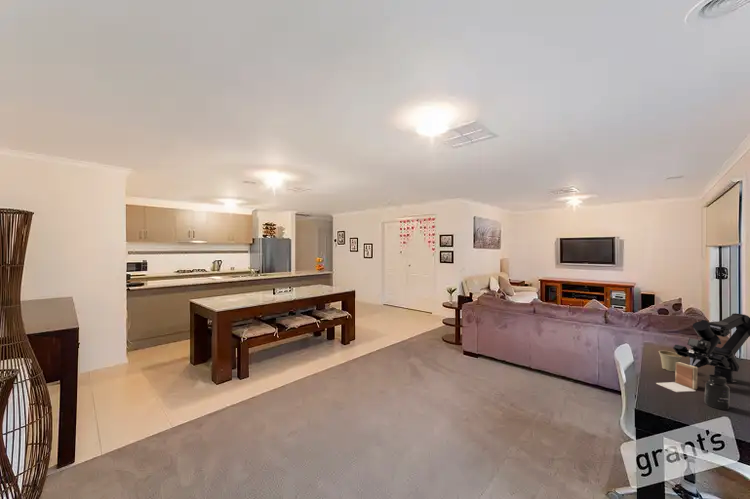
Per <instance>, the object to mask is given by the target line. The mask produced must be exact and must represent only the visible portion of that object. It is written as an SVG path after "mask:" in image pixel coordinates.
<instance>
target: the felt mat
mask: <svg viewBox="0 0 750 499" xmlns="http://www.w3.org/2000/svg"><path fill="white" fill-rule="evenodd" d="M655 384H656V385H658V386H659V387H660V386H661V387H663V388H665V389H668V390H669V391H673V392H675V393H691V392H693V393H694V392H697V391H696V390H697V389H695V390H693V389H690V388H688V387H685V386H683V385H680V384H678V383H675V381H671V382H669V381H668V382H655Z"/></svg>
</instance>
